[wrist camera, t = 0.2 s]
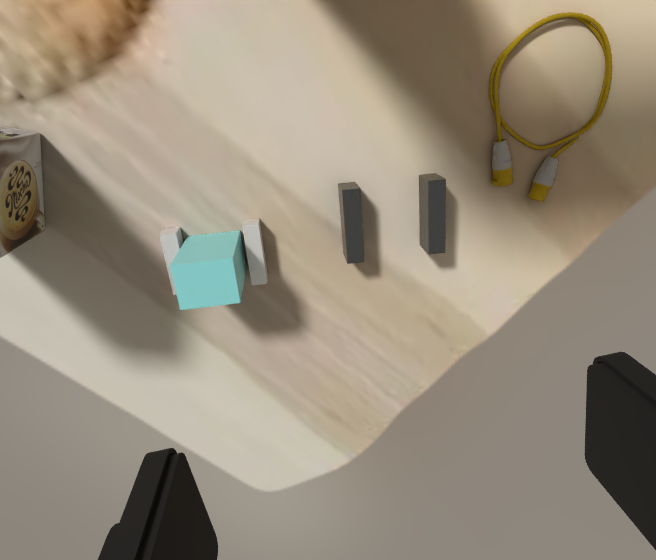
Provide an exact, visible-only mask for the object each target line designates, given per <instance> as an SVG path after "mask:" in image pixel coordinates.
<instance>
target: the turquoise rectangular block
mask: <svg viewBox="0 0 656 560" xmlns="http://www.w3.org/2000/svg"><path fill="white" fill-rule="evenodd" d="M170 268H171V273H172V277H173V281H174V285H175V290H176V294H177V298H178V303H179V307H180V310H185V309H193V308H202V307H210V306H219V305H227V304H235V303H240V302H241V296H242V291H243V285H244V280H245V274H246V263H245V257H244V251H243V245H242V239H241V233H240V231H232V232H223V233H214V234H205V235H196V236H188V237H187V238H186V240H185V242H184V243H183V245H182V247H181V248H180V250H179V251H178V253H177V255H176V256H175V258H174V259H173V261H172V263H171V264H170Z"/></svg>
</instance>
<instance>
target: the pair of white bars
mask: <svg viewBox="0 0 656 560" xmlns="http://www.w3.org/2000/svg"><path fill="white" fill-rule="evenodd" d="M242 228H243V234H244V241H245V247H246V253H247V259H248V265H249V271H250V277H251V284H252V286H254V285H262V284H267V282H268V274H267V267H266V260H265V253H264V247H263V240H262V233H261V226H260V219H259V218H258V219H249V220H244V221H243V224H242ZM159 236H160V240H161V244H162V249H163V253H164V257H165V262H166V266H167V270H168V274H169V279H170V283H171V287H172V291H173V295H177V294H176V290H175V285H174V281H173V277H172V273H171V268H170V264H171V263H172V261H173V259H174V258H175V256H176V255H177V253H178V251H179V250H180V248H181V247H182V245H183V243H184V242H183V238H182V233H181V228H180V227H176V228H167V229H164V230H163V231H162V232H161V233H160V235H159Z"/></svg>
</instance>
